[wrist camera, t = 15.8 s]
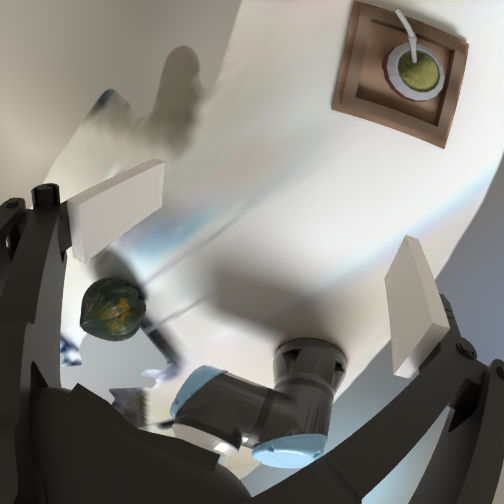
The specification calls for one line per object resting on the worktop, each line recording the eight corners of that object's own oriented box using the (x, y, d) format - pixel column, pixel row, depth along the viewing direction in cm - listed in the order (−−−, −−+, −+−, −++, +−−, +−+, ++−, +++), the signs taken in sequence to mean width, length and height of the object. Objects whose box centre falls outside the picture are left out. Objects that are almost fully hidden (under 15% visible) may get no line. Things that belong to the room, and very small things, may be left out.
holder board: (442, 147, 33) (448, 152, 31) (331, 108, 36) (330, 110, 33) (466, 44, 25) (474, 42, 22) (353, 2, 27) (354, -4, 25)
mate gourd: (424, 108, 31) (465, 119, 18) (367, 87, 32) (380, 84, 20) (435, 57, 27) (481, 43, 14) (377, 36, 28) (395, 6, 16)
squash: (157, 342, 63) (101, 342, 50) (118, 340, 70) (67, 339, 57) (156, 279, 66) (102, 268, 54) (117, 285, 73) (68, 276, 60)
